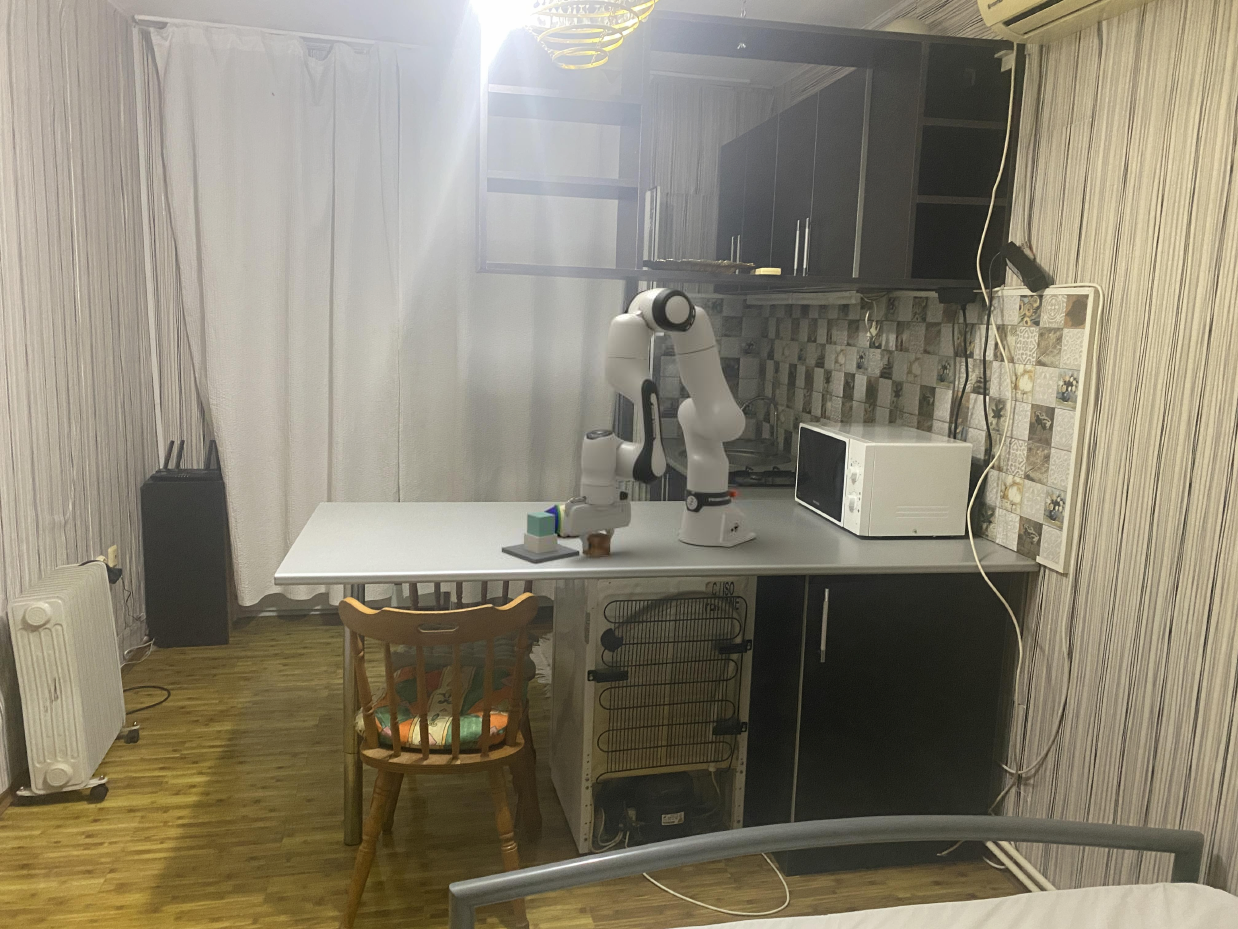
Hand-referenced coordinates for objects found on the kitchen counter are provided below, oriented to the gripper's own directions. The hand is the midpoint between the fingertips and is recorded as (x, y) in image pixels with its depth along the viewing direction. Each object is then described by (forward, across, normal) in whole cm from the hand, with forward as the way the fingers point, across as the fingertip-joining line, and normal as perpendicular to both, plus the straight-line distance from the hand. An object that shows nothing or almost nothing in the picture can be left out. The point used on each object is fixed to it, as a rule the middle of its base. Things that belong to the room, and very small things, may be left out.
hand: (596, 547), depth 234 cm
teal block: (-3, -11, +9) cm, 15 cm away
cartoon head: (+2, +6, +21) cm, 22 cm away
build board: (+2, -11, +9) cm, 14 cm away
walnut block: (+2, 0, 0) cm, 2 cm away
